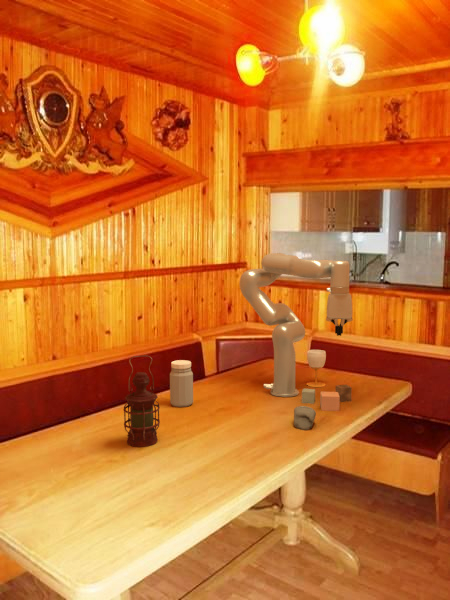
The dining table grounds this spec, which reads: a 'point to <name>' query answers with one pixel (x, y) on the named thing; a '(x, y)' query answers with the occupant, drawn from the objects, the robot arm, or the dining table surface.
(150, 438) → the lantern
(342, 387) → the walnut block
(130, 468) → the dining table surface
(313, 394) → the greygreen block
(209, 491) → the dining table surface
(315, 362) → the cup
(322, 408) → the terracotta block
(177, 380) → the jar
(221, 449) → the dining table surface
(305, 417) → the stone
